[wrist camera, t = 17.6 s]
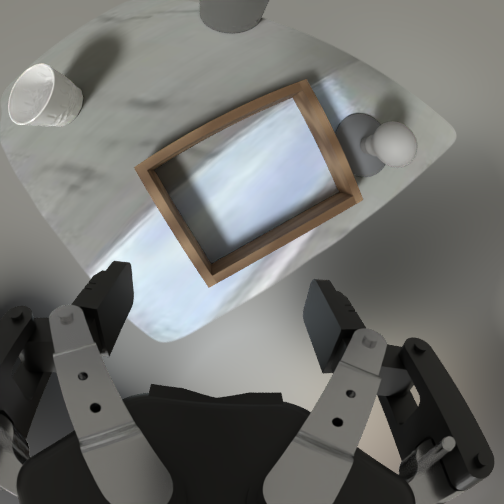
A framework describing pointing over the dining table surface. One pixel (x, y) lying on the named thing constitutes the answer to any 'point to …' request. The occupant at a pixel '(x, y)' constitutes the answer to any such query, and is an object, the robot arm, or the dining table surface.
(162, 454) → the robot arm
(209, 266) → the shallow wooden tray
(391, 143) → the lightbulb
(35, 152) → the dining table surface
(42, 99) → the white cup
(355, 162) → the mat
